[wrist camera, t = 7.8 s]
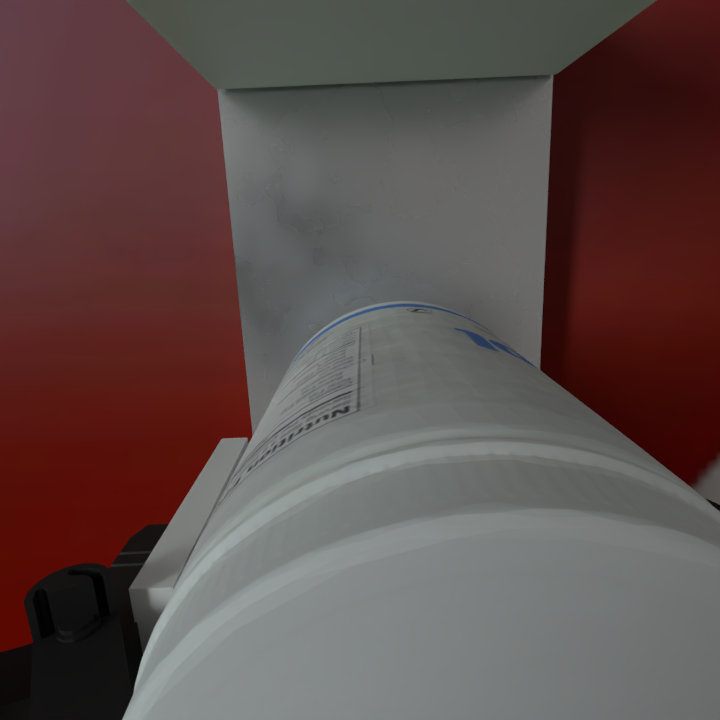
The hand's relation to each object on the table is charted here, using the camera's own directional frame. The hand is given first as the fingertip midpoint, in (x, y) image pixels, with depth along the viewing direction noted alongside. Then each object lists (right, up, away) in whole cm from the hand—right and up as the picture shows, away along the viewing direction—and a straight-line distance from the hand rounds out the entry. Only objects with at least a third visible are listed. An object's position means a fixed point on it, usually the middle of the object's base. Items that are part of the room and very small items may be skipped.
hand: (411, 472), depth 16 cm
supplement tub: (0, +1, +5) cm, 5 cm away
